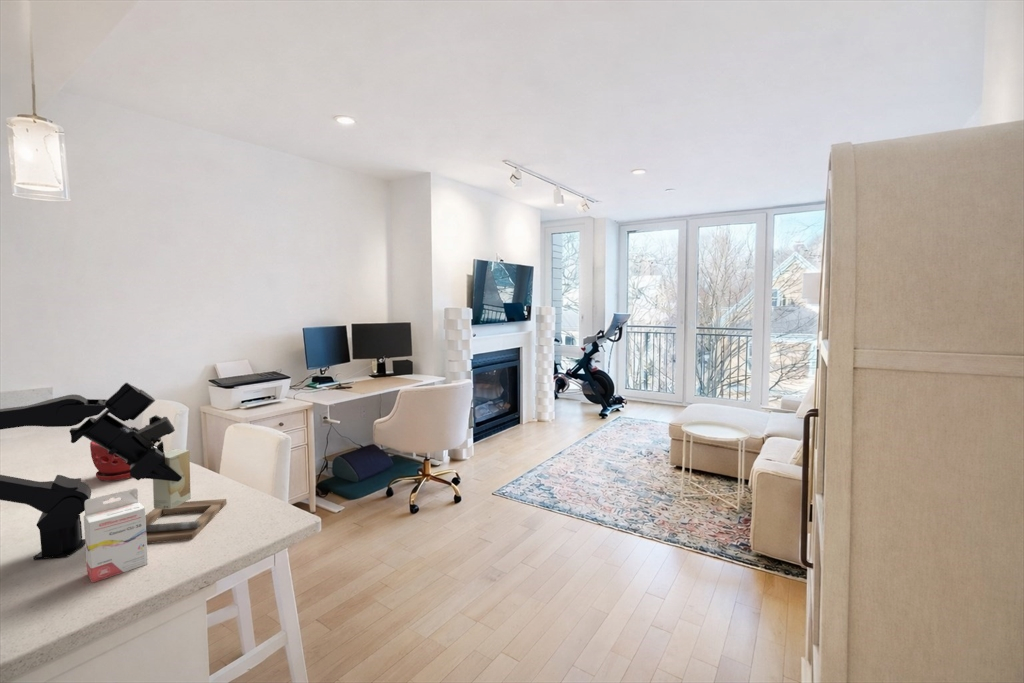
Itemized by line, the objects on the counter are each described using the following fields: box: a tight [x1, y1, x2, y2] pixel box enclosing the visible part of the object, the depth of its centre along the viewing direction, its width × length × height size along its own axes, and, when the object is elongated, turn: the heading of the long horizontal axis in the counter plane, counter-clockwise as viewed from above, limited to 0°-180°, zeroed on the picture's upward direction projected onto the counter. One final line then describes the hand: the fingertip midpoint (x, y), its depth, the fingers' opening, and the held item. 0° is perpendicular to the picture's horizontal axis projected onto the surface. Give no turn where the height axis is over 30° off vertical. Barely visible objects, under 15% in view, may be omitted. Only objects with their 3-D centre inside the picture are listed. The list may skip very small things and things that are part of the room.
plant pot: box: [89, 440, 132, 482], centre depth 138 cm, size 13×13×12 cm
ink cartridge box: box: [83, 488, 149, 583], centre depth 89 cm, size 9×5×15 cm, turn 141°
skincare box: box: [152, 448, 192, 509], centre depth 108 cm, size 6×4×12 cm
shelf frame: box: [145, 498, 228, 544], centre depth 108 cm, size 18×15×3 cm
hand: (179, 474), depth 108 cm, fingers closed on skincare box, 7 cm apart
